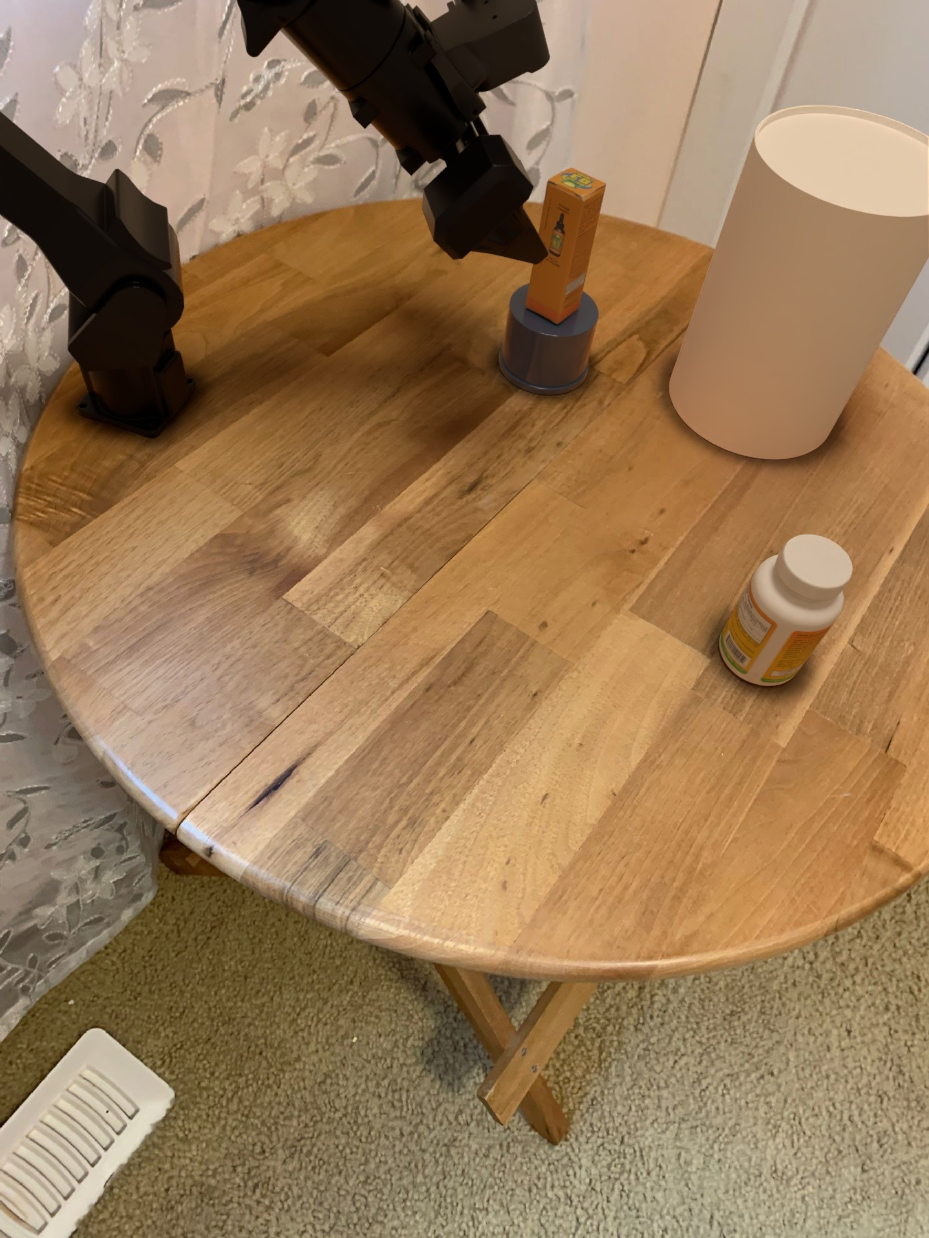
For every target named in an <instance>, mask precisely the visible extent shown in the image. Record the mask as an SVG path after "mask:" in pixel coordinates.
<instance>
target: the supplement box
mask: <svg viewBox="0 0 929 1238" xmlns="http://www.w3.org/2000/svg"><path fill="white" fill-rule="evenodd" d="M606 187H607V183H606V182H604V181H602V180H600V179H598V178H595V177H593V176H591V175H589V174H587V173H585V172H583V171H580V170H578V169H576V168H574V167H568V168H567V169H565V170H563V171H560V172H558V173H557V174H554V175H553V176H552V177H549V179H548V180H547V182H546V187H545V192H544V198H543V205H542V211H541V216H540V222H539V228H538V234H539V236H540V237H541V239H542V241H543V243H544V245H545V247H546V248H547V250H548V252H549V254H548V256H547V257H546V258H545V259H544V260H543V261H541V262H540V263H539V264H532V267H531V273H530V277H529V282H528V283H529V288H528V293H527V298H526V303H525V305H526V308H528V309H530V310H532V311H534V312H536V313H538V314H540V315H542V316H544V317H546V318H548V319H549V320H551V321H552V322H554V323H555V324H559V323H560V322H562V321H563V320H565V319H566V318H567V317H568V316H570V315H571V314H572V313H574V312H575V311H576V310H578V308H579V305H580V301H581V296H582V292H583V291H584V287H585V282H586V278H587V275H588V274H587V273H588V269H589V265H590V260H591V256H592V251H593V247H594V242H595V237H596V233H597V228H598V223H599V219H600V215H601V214H600V213H601V210H602V205H603V202H604V196H605V192H606Z"/></svg>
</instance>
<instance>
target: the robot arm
mask: <svg viewBox="0 0 929 1238" xmlns="http://www.w3.org/2000/svg"><path fill="white" fill-rule="evenodd" d="M236 3H237V6H238V9H239V12H240V29H241V33H242V37H243V38H242V39H243V43H244V47H245V52H246V54H247V55H248V56H249V57H251V58H257V57H259V56H260V55H261V54H262V53H263V52H264V51H265V49H266V48H267V46H268V45H269V44H270V43H271V42H272V41H273V39H274V38H275V37H276V36H277V35H278V33H280V32H281V33H282V34H283V35H284V36H285V38H286V39H287V40H288V41H289V42H290V43H291V44H292V45H293V46H294V47H295V48H296V49H297V50H298V51H299V52H300V53H301V54H302V55H303V56H304V57H305V58H306V59H307V60H308V61H309V62H310V63H311V64H312V65H313V66H314V68H315V69H317V71H319V72H320V73H321V74H322V76H324V78H326V80H328V82H330V83H331V85H332V86H333V87H334V88H335V89H336V90H337V91H338V92H339V93H340V94H341V95H342V96H343V97H344V98H345V99H346V100H347V103H348V106H349V109H350V113H351V116H352V118H353V119H354V120H355V121H356V122H357V123H358V124H359V125H360V126H361V127H362V129H364V130H366V129H367V128H368V127H369V126H370V125H371V126H372V127H373V128H374V129H376V131H377V132H378V133H379V134H380V135H381V136H382V137H383V138H384V139H385V140H386V141H387V142H388V143H389V144H390V145H391V146H392V147H393V149H394V151H395V154H396V157H397V160H398V163H399V165H400V167H402V169H404V170H405V172H407V174H408V175H410V177H412V176H413V175H415V173H416V172H417V171H419V169H420V168H421V167H422V166H424V164H425V163H426V162H427V163H428V164H429V165H432V164H434V163H435V162H437V161H439V160H441V161H443V162H444V164H445V167H444V168H443V169H442V170H441V171H440V172H439V173H438V174H437V175H436V176H435V177H434V178H433V179H432V180H431V181H430V182H429V183H428V184H427V185H426V186H424V187H423V188H422V203H421V204H422V205H421V206H422V207H421V211H422V214H423V217H424V218H425V222H426V224H427V227H428V229H429V233H430V235H431V238H432V240H433V242H434V243H435V245H437V246H438V247H439V248H440V249H441V250H442V251H443V252H445V253H446V255H447V256H448V257H450V258H451V259H452V260H453V261H455V260H456V261H457V260H463V259H464V258H465V257H466V256H468V255H469V254H470V253H471V252H473V253H481V254H488V255H493V256H497V257H502V258H507V259H510V260H515V261H518V262H524V263H528V264H532V265H533V264H539V263H540V262H541V261H543V260H544V259H545V258H546V257H547V256H548V254H549V252H548V250H547V248H546V247H545V245H544V243H543V241H542V239H541V237H540V236H539V234H538V233H539V231H538V230H537V228H536V227H535V224H534V223H533V222H532V220H531V218H530V216H529V214H528V213H527V211H526V209H525V207H524V204H525V203H526V202H527V201H528V200H530V197H531V195H532V192H533V190H534V187H535V186H534V184H533V182H532V179H531V178H530V176H529V174H528V172H527V170H526V168H525V166H524V164H523V162H522V160H521V159H520V158H519V157H518V155H517V154H516V151H514V149H513V148H512V146H511V145H510V144H509V143H508V142H507V141H506V139H505V138H504V137H503V136H502V134H500V133H498V134H497V133H496V134H490V133H489V132H488V129H487V127H486V126H485V125H486V124H484V121H483V120H482V118H481V116H480V115H481V114H482V113H483V112H484V111H485V110H486V109H487V108H488V107H487V105H486V103H485V101H484V99H483V98H482V96H481V95H480V93H487V92H491V91H492V90H495V89H496V88H498V87H500V86H502V85H504V84H506V83H509V82H511V81H513V80H514V79H516V78H519V77H521V76H522V75H524V74H527V73H529V74H534V73H536V72H538V71H540V70H541V69H543V68H544V67H545V66H547V64H548V63H549V61H550V59H551V54H550V50H549V46H548V43H547V38H546V34H545V30H544V25H543V22H542V19H541V14H540V9H539V7H538V1H537V0H451V1H448V2H447V3H446V6H447V10H448V11H447V12H445V13H443V14H441V15H440V16H438V17H437V18H435V19H434V20H432V21H431V20H430V19H429V18H428V16H427V15H426V14H425V13H424V12H423V11H422V9H421V7H419V5H417V4H416V5H415V6H414V7H412V6H411V4H410V3H409V2H407V3H406V4H404V3H402V2H401V0H236ZM168 211H169V210H168V207H167V206H165V205H162V204H160V203H158V202H155V201H153V200H152V199H151V198H149V197H148V196H146V195H145V194H144V193H143V192H142V190H140V189H139V188H138V186H137V185H135V183H134V182H133V181H132V179H131V178H130V177H129V176H128V175H127V174H126V173H125V172H124V171H122V170H121V169H119V168H115V169H114V170H113V171H112V173H111V174H110V175H109V177H108V179H107V180H106V182H102V181H99V180H96V179H92V178H89V177H87V176H83V175H80V174H78V173H76V172H75V171H73V170H71V169H70V168H69V167H67V166H66V165H64V164H63V163H62V162H61V161H59V160H58V158H56V157H55V156H54V155H53V154H51V153H50V151H48V150H47V149H46V148H45V147H43V146H42V145H41V144H40V143H38V141H36V140H35V139H34V138H33V137H31V136H30V135H29V134H28V133H26V132H25V131H24V130H23V129H22V128H20V126H18V125H17V124H16V123H15V122H14V121H13V120H11V119H10V118H9V117H8V116H6V114H4V113H3V112H2V111H0V216H1V217H2V218H3V219H4V220H6V221H7V222H9V223H10V224H11V225H12V226H14V227H15V228H17V229H18V230H19V231H20V232H22V233H23V234H24V235H26V236H27V237H28V238H29V239H31V240H32V242H33V243H35V245H36V246H37V247H38V249H39V250H40V251H41V253H42V255H43V256H44V257H45V258H46V260H47V261H48V263H49V264H50V267H52V269H53V270H54V272H55V273H56V274H57V276H58V277H59V279H60V280H61V282H62V283H63V285H64V286H65V288H66V289H67V290H68V311H67V313H68V314H67V316H68V317H67V318H68V319H67V351H68V353H69V354H70V356H71V357H72V358H73V359H74V360H75V361H76V363H77V364H78V367H79V369H80V373H81V375H82V378H83V379H82V380H83V382H84V385H85V387H86V391H87V393H86V394H85V395H84V396H83V397H82V398H81V400H79V402H78V403H77V404H76V405H75V406H76V407H75V408H76V410H77V413H78V414H79V415H82V416H85V417H88V418H91V419H94V420H98V421H100V422H103V423H106V424H110V425H113V426H116V427H119V428H122V429H126V430H129V431H131V432H135V433H138V434H141V435H145V436H147V437H155V436H157V435H159V434H160V433H161V432H162V430H163V429H164V428H165V426H166V425H167V424H168V423H169V422H170V420H171V419H172V418H173V417H174V416H176V414H177V413H178V411H180V408H182V406H183V405H184V404H185V402H186V401H187V400H188V399H189V397H191V394H192V393H193V392H194V390H196V388H197V380H196V378H195V377H191V376H189V375H186V369H185V365H184V361H183V356H182V353H181V351H180V350H177V348H176V343H175V340H174V335H173V330H172V329H173V328H174V327H175V326H176V325H177V323H178V322H179V321H180V320H181V318H182V316H183V313H184V310H185V295H184V285H183V274H182V273H183V272H182V264H181V252H180V243H179V240H178V239H179V238H178V235H177V232H176V231H175V229H174V228H173V226H172V225H171V224H170V222H169V212H168Z"/></svg>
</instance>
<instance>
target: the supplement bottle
mask: <svg viewBox="0 0 929 1238" xmlns="http://www.w3.org/2000/svg"><path fill="white" fill-rule="evenodd" d="M853 569H854V568H853V563H852V560H851V557H850V556H849V554H848V553H847V551H846V550H845V549H844V548H843V547H841V546H840V545H839V544H837V542H835V541H834V540H831V539H830V538H827V537H825V536H822V535H819V534H812V533H803V534H799V535H796V536H794V537H792V538H790V539H789V540H788V541H786V543H785V544H784V545H783V547H782V549H781V551H780V552H778V554H775V555H771V556H770V557H768V558H766V559H765V560H763V561H762V562H761V564H760V565H758V567H757V568H756V570H755V571H754V573H753V575H752V576H751V579H750V580H749V582H748V584H747V586H746V587H745V589H744V590H743V593H742V595H741V596H740V598H739V600H738V602H737V604H736V605H735V607H734V609H733V610H732V612H731V614H730V616H729V617H728V619H727V620H726V623H725V625H724V626H723V628H722V631H721V633H720V636H719V640H718V645H719V652H720V655H721V657H722V659H723V661H724V663H725V665H726V666H727V667H728V668H729V670H730V671H732V673H734V675H736V676H738V677H739V678H741V679H742V680H744V681H746V682H748V683H751V684H754V685H758V686H764V687H765V686H766V687H771V686H779V685H782V684H785V683H787V682H788V681H790V680H791V679H793V678H794V677H795V675H797V674H798V672H799V671H800V670H801V669H802V667H803V666H804V664H805V663H806V662H807V660H808V659H809V657H810V656H811V655H812V653H813V652H814V651H815V649H816V648H817V647H818V645H819V644H820V643H821V641H822V640H823V639H824V637H825V636H826V635H827V633H828V632H829V630H830V629H831V628H832V626H833V625H834V623H835V622H836V621H837V619H838V618H839V616H840V615H841V613H842V611H843V608H844V602H845V597H844V596H845V595H844V589H845V587H846V586H847V584H848V583H849V581H850V580H851V578H852V575H853Z"/></svg>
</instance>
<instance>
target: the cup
mask: <svg viewBox="0 0 929 1238" xmlns="http://www.w3.org/2000/svg"><path fill="white" fill-rule="evenodd" d="M529 283H530V282H528V283H525V284H523V285H521V286H519V287H518V288H517V289H516V290H514V291H513V293H512V295H511V296H510V298H509V301H508V302H509V303H508V309H507V316H506V322H505V330H504V336H503V343H502V345H501V347H500V348H499V352H498V366H499V367H498V368H499V369H500V371H501V373H502V375H503V376H504V377H505V378H506V380H507V381H509V382H510V383H511V384H513V385H514V386H516V387H517V388H519V389H522V390H523V391H526V392H529V393H532V394H536V395H545V396H557V395H563V394H566V393H570V392H572V391H574V390H576V389H578V388H579V387H580V386H581V385H582V384H583V383H584V382H585V380H586V379H587V377H588V376H587V375H588V371H589V368H590V367H589V366H590V364H589V359H590V354H591V350H592V345H593V341H594V337H595V333H596V329H597V326H598V321H599V317H600V311H599V308H598V305H597V303H596V301H595V300H594V299H593V297H591V295H589V294H588V293H587V292H585V291H584V290H583V292H582V296H581V301H580V305H579V308H578V310H576V311H575V312H574V313H572V314H571V315H570V316H568V317H567V318H566V319H565V320H563V321H562V322H560V323H559V324H555V323H554V322H552V321H551V320H549V319H548V318H546V317H544V316H542V315H540V314H538V313H536V312H534V311H532V310H530V309H528V308H526V305H525V303H526V298H527V293H528V288H529Z"/></svg>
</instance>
